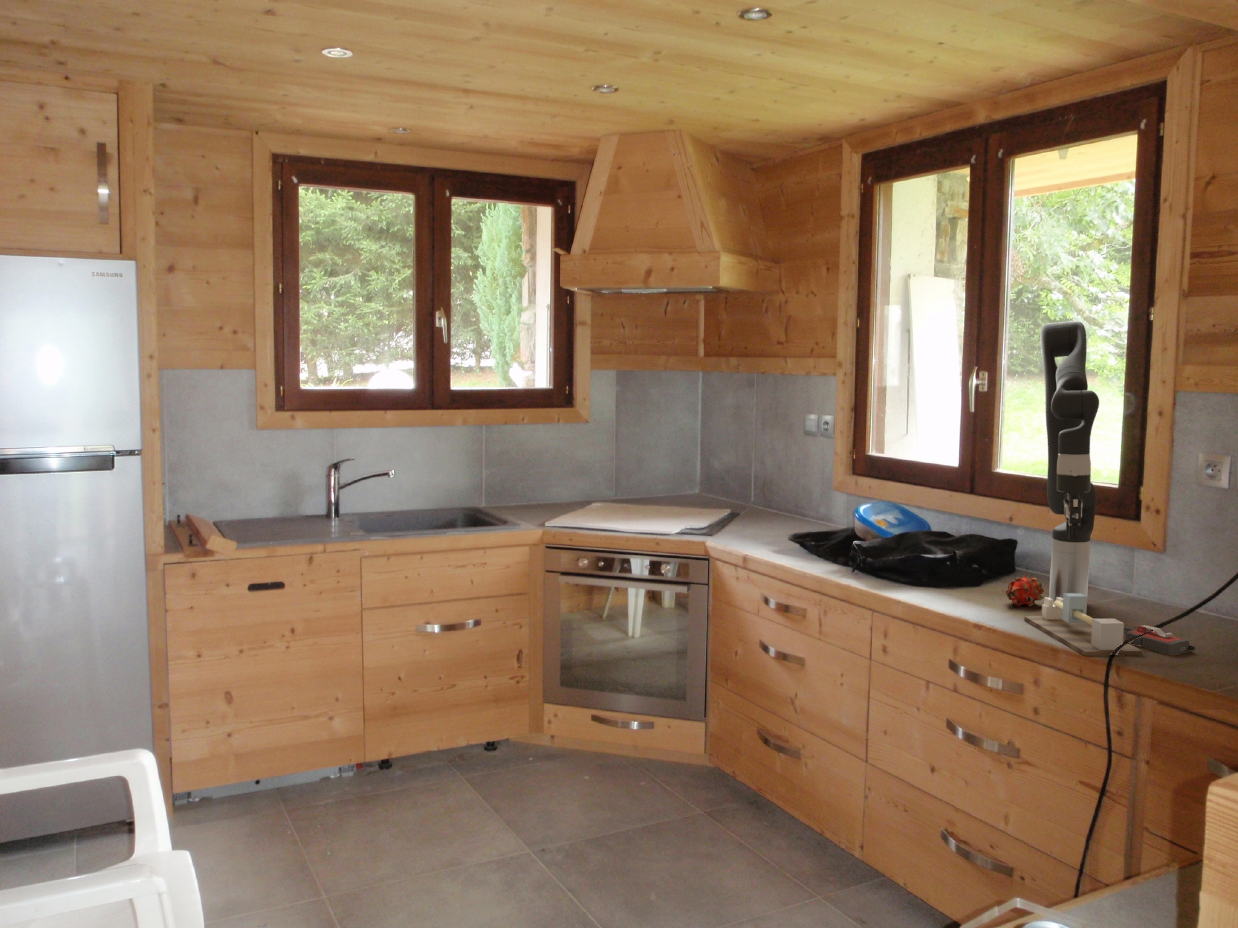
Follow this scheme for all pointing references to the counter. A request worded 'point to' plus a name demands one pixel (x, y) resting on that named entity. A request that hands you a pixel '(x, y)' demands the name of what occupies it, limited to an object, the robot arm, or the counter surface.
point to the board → (1076, 636)
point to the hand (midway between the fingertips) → (1072, 538)
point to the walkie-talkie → (1158, 640)
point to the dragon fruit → (1024, 591)
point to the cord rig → (1103, 630)
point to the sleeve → (1073, 606)
